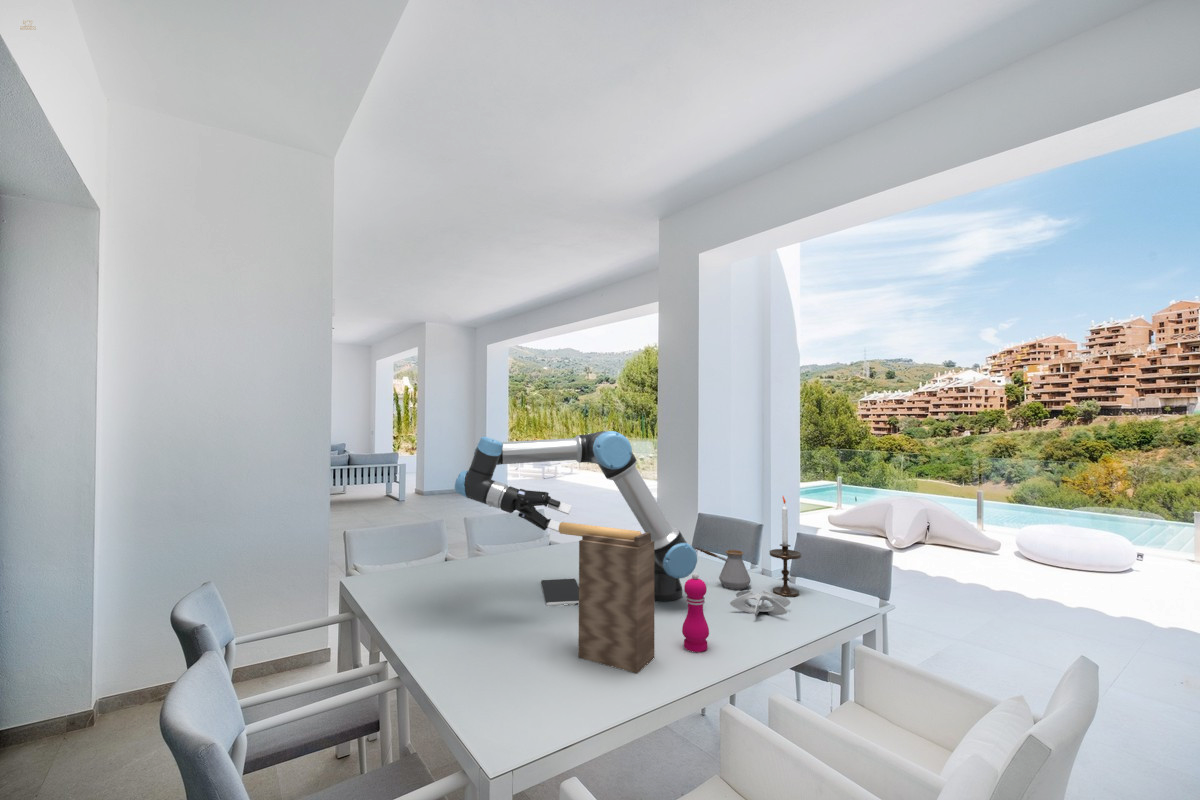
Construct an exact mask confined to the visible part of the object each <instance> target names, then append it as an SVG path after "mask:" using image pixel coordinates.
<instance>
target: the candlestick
mask: <svg viewBox="0 0 1200 800" xmlns="http://www.w3.org/2000/svg"><path fill="white" fill-rule="evenodd" d="M781 499H782V501H783V505H782V507H781V532H782V534H781V535H782V536H781V537H782V538H781V539H782V542H781V543H780V544H779V546H780V547H781V548H778V549H777V548H775V549H770V550H769V555H770V557H773V558H776V559H781V560H782V561H783V565H782V566H783V569H782V570H780V572H781V574H782V577H781V579H782V581H783V585H782V586H775V587H773V588H772V589H771V590H772V593H774V594H777V595H780V596H783V597H785V598H795V597H799V595H800V592H799V590H798V589H796V588H793V587H790V586H789V585H788V584H789V583H788V581H790V578H789V575H790V570H788V561H790V560H799V559H801V558H802V553H801V552H799V551H797V550H792V549H789V547H791V545H790V544H789V542H788V541H789V536H788V533H789V532H788V530H789V528H788V518H789V517H788V507H787V506H786V503H787V502H786V499H785V496H782V498H781Z"/></svg>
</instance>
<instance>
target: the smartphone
mask: <svg viewBox="0 0 1200 800" xmlns="http://www.w3.org/2000/svg"><path fill="white" fill-rule="evenodd" d="M540 586H541V591H542V595H543V594H544V595H543V599H544V603H546V604H545V606H546V607H548V606H549V607H559V606H558V605H564V604H568V605H567V606H576V605H578V604H579V583H578V581H577V580H576V578H574V577H573V578H571V577H569V578H553V579H552V578H551V579H541V581H540ZM577 603H578V604H577ZM575 604H576V605H575ZM564 606H565V605H564Z"/></svg>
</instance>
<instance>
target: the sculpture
mask: <svg viewBox="0 0 1200 800" xmlns="http://www.w3.org/2000/svg"><path fill="white" fill-rule="evenodd" d="M735 596H736V597H735V598H733V599H731V601H730V602H729V605H731V607H733V608H734V609H737V610H740V611H742V612H744V613H745V612H746V613H749V614H752V615H754V616H757V617H758V614H759V613H760V612H761V613H762V612H768V615H771V616H783V615H786V614H787V613H788V610H787V608H786V607H788V606H789V605H790V604H791V600H790V599H789V598H788V597H783V596H780V595H777V594H774V593H773V592H770V591H767V590H762V592H761V593H755V594H754V593H753V591H752V590H741V591H738V592H736V593H735ZM750 600H755V601H756V604H752V603H751V601H750ZM760 601H761V603H760ZM765 601H768V602H769V603H770V604H771V605H769V606H768V605H764V603H765ZM759 603H760V604H759Z"/></svg>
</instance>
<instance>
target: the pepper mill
mask: <svg viewBox="0 0 1200 800" xmlns="http://www.w3.org/2000/svg"><path fill="white" fill-rule="evenodd" d="M691 577H692V578H689V579H688V580H686V581H685V583H684V586H683V587H684V588H683V589H684V593H685V594H686V596H685V599H686V602H685V603H687V613H686V616H685V619H684V621H683V623H682V628H681V632H682V635H683V637H684V640H683V647H685V648H686V649H687V651H688V650H689V652H692V651H693V652H692V653H703V652H705V650H706V651H707V650H708V640H706V639H708V638H709V635H710V630H709V629H710V628H709V624H708V622H707V620H706V618H705V615H704V614H705V613H704V604H705V603H706V601H705V597H704V596H705V595H706V594H707V584H706V583H705V581H704V580H702V579H701V578H699V574H698V573H697V572H692V573H691ZM685 648H684V649H685ZM686 649H685V650H686ZM702 651H703V652H702Z"/></svg>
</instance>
